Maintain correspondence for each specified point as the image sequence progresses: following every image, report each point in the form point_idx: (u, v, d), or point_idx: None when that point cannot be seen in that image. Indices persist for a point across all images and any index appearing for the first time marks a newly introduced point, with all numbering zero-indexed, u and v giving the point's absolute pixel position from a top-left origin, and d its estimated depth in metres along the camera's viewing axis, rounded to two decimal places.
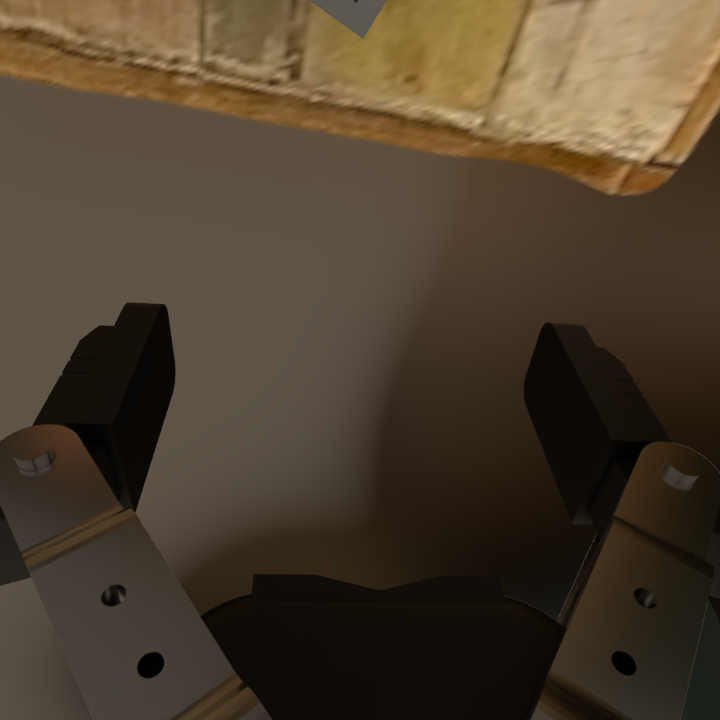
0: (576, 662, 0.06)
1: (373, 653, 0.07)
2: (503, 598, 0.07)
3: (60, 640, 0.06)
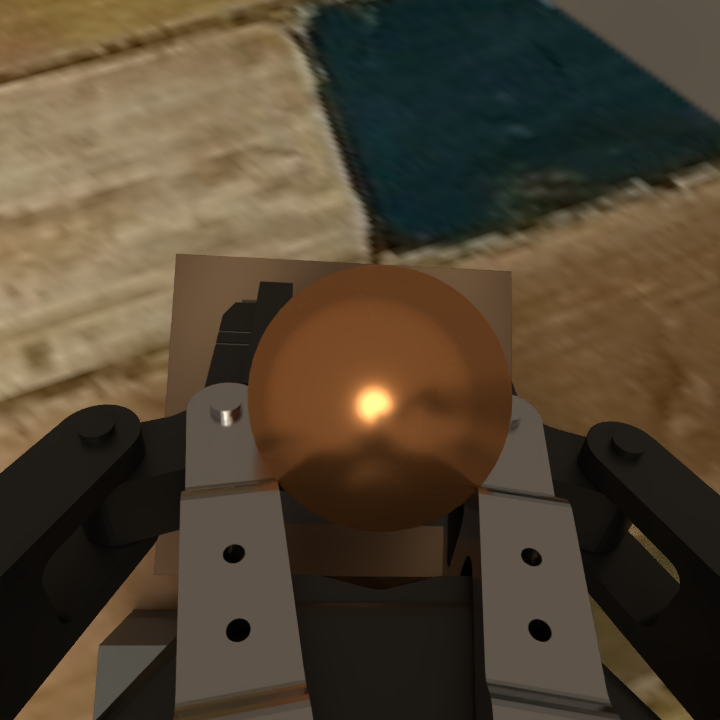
0: (576, 662, 0.06)
1: (373, 653, 0.07)
2: None
3: (179, 572, 0.06)
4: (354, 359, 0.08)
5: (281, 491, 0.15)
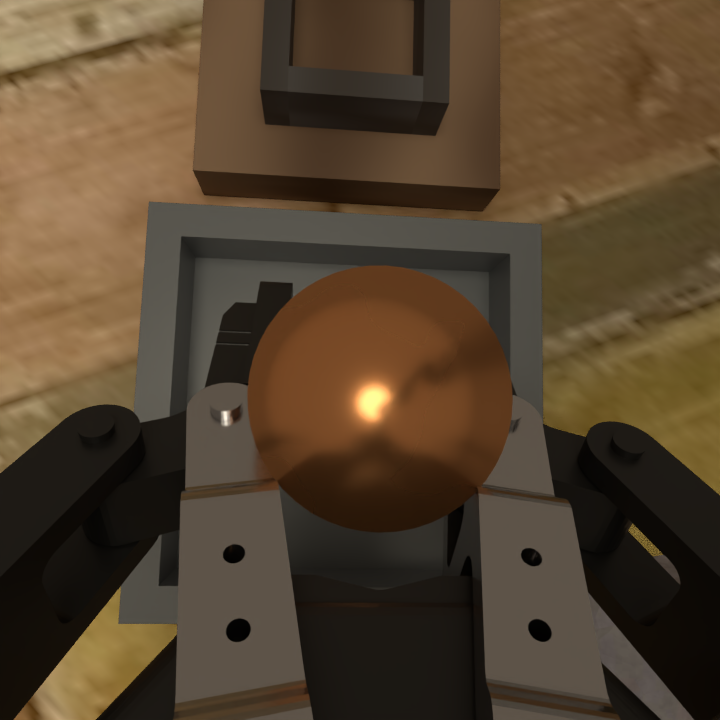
0: (576, 662, 0.06)
1: (373, 653, 0.07)
2: None
3: (180, 572, 0.06)
4: (354, 359, 0.08)
5: (303, 67, 0.17)
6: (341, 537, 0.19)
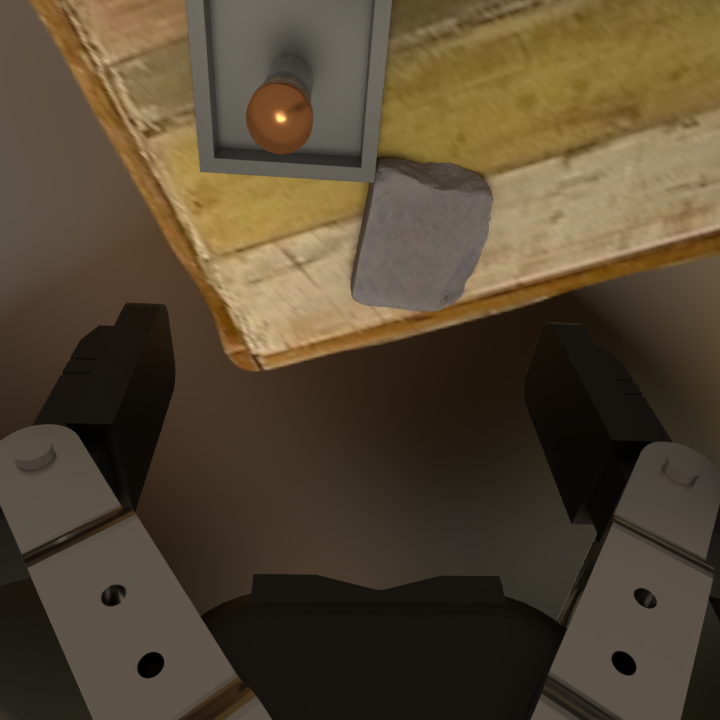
0: (576, 662, 0.06)
1: (373, 653, 0.07)
2: (503, 598, 0.07)
3: (60, 640, 0.06)
4: (272, 111, 0.32)
5: None
6: None
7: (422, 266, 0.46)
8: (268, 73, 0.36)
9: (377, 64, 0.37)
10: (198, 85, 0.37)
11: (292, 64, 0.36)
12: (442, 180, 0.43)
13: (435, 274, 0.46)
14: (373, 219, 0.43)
